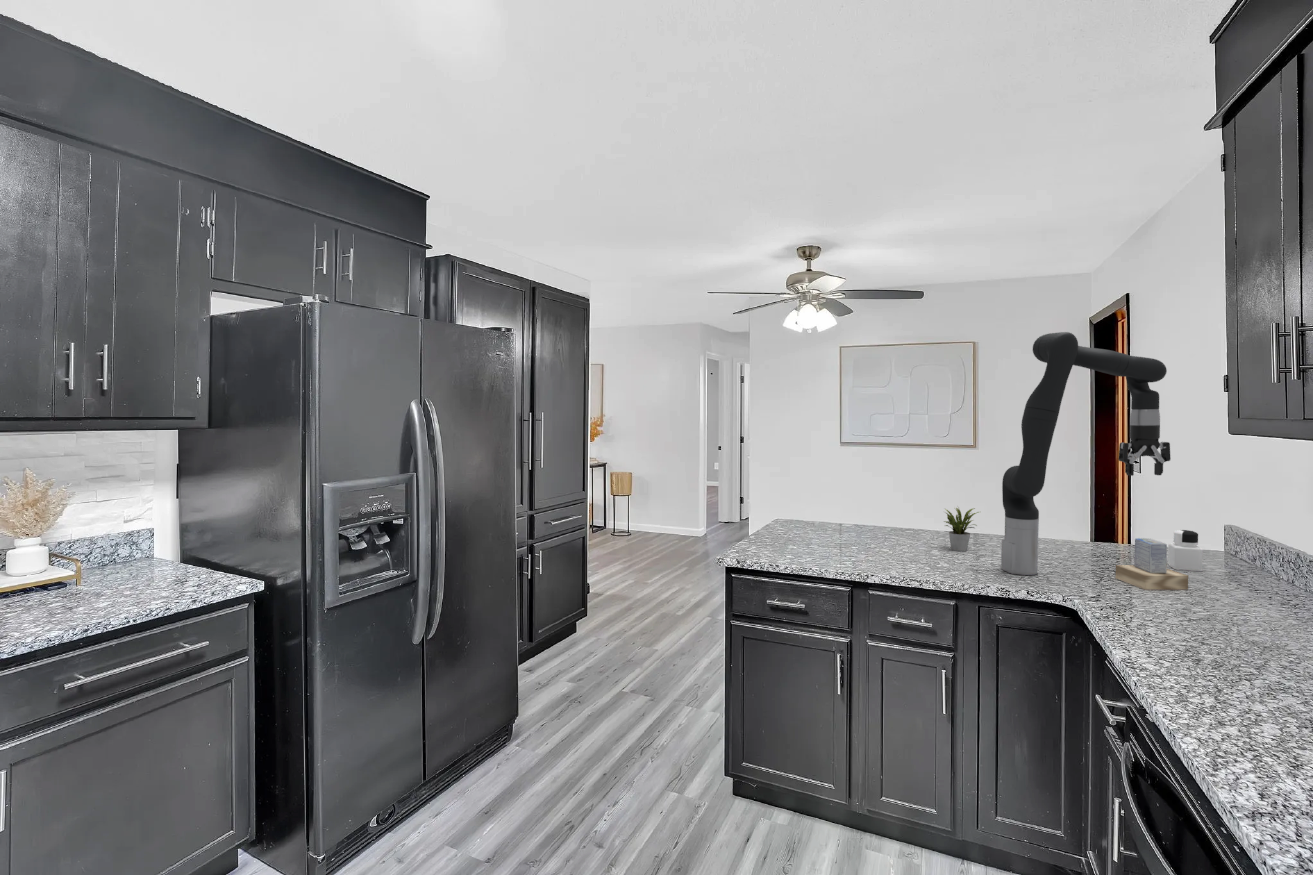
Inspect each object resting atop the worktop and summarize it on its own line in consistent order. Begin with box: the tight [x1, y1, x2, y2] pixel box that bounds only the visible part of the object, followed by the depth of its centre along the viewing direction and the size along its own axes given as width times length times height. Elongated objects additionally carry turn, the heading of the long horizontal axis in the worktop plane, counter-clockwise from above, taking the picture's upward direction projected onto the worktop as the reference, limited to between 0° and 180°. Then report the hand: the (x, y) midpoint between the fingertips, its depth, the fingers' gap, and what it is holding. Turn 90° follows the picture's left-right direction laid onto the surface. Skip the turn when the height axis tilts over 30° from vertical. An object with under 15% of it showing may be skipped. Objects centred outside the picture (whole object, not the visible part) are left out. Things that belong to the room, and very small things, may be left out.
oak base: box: [1115, 564, 1189, 591], centre depth 188 cm, size 12×12×4 cm
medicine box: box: [1133, 537, 1168, 574], centre depth 188 cm, size 8×4×9 cm, turn 172°
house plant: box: [943, 506, 980, 552], centre depth 233 cm, size 14×14×16 cm
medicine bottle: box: [1167, 529, 1204, 572], centre depth 205 cm, size 7×7×12 cm
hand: (1144, 475), depth 203 cm, fingers open, 8 cm apart
